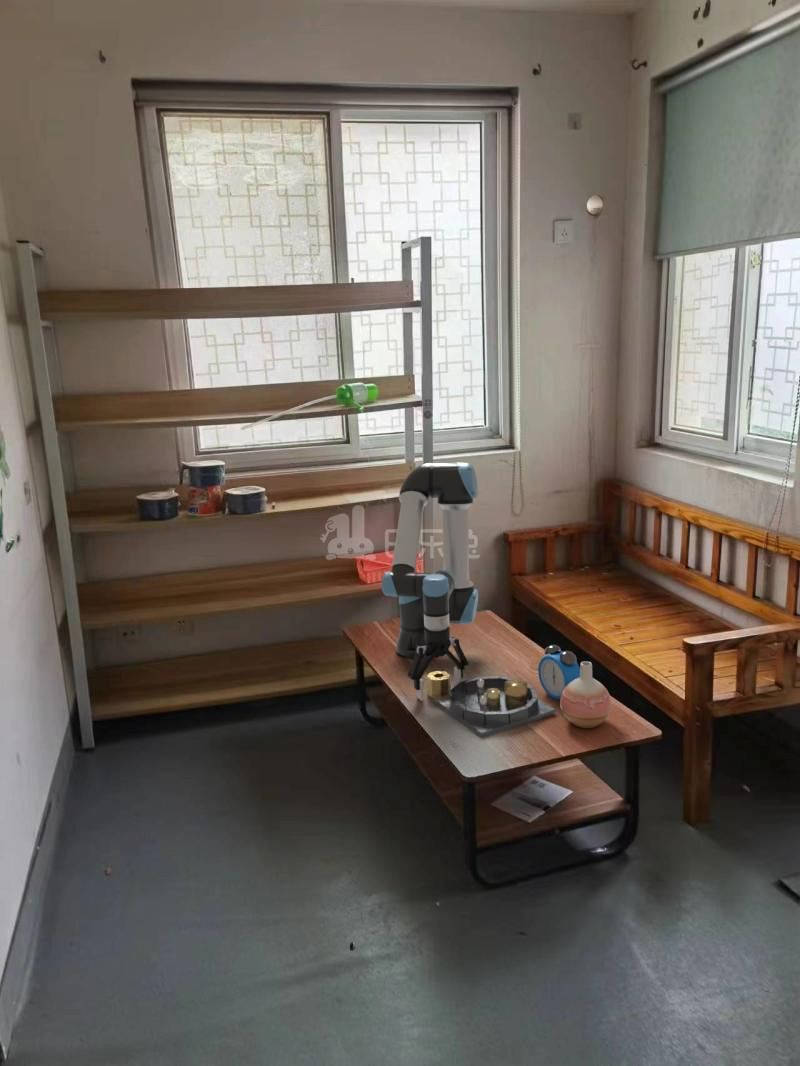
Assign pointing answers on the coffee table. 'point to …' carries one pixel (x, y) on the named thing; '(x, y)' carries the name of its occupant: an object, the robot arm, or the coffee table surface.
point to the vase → (585, 699)
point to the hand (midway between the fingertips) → (439, 693)
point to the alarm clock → (557, 671)
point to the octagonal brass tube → (438, 684)
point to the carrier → (494, 704)
